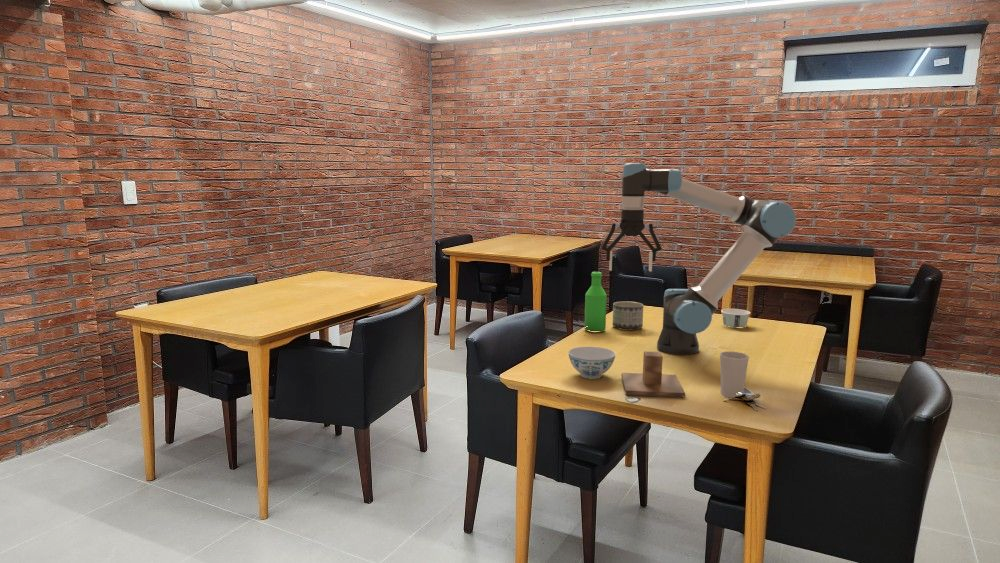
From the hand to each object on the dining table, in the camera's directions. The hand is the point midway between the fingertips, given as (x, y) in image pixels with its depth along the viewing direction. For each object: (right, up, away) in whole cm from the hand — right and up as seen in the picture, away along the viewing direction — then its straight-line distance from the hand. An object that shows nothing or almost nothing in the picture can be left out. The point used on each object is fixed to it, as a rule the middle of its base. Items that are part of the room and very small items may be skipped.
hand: (630, 270), depth 212 cm
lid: (+1, -36, -25) cm, 43 cm away
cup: (+24, -38, -30) cm, 54 cm away
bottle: (-5, -25, +46) cm, 52 cm away
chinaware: (-16, -35, -14) cm, 40 cm away
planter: (+10, -24, +51) cm, 57 cm away
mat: (+1, -36, -25) cm, 44 cm away
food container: (+57, -23, +55) cm, 83 cm away
